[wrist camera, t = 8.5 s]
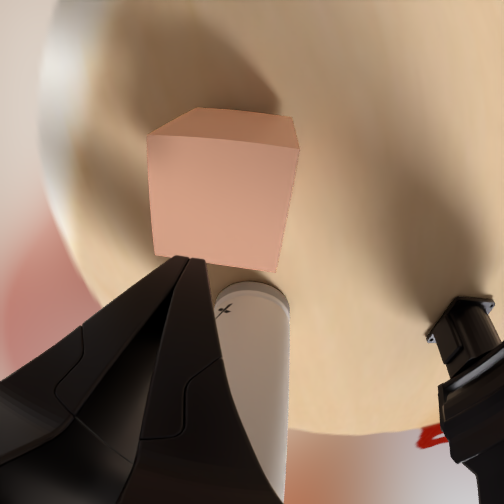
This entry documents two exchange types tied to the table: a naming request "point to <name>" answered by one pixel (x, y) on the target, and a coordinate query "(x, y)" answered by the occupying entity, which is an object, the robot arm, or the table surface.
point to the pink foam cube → (222, 186)
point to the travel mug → (258, 368)
